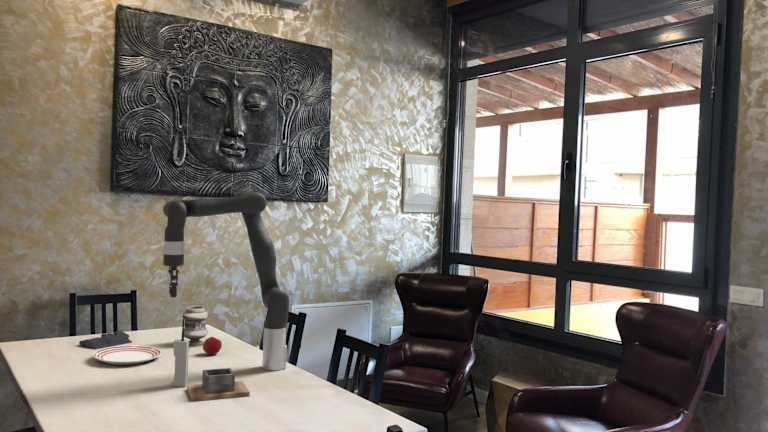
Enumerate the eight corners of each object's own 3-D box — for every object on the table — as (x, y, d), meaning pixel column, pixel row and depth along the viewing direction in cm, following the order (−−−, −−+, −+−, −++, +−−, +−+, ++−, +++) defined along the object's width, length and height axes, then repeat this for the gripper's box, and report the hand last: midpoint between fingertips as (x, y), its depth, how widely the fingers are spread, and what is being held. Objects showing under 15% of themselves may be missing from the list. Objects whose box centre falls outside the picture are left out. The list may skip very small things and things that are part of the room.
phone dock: (242, 384, 229) (242, 365, 229) (249, 396, 216) (250, 375, 216) (186, 389, 221) (187, 369, 221) (191, 401, 208) (192, 379, 208)
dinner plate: (172, 354, 271) (172, 346, 271) (142, 370, 244) (142, 362, 244) (114, 350, 274) (114, 343, 274) (78, 366, 246) (78, 357, 246)
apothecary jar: (176, 345, 286) (177, 307, 286) (191, 340, 298) (192, 304, 297) (198, 348, 283) (199, 309, 282) (212, 342, 294) (213, 306, 294)
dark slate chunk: (73, 346, 279) (74, 335, 279) (116, 338, 298) (116, 328, 298) (94, 351, 272) (94, 340, 272) (136, 342, 291) (136, 332, 291)
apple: (218, 357, 268) (219, 339, 268) (200, 356, 268) (201, 338, 268) (223, 352, 276) (223, 335, 276) (205, 352, 276) (206, 334, 276)
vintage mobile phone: (174, 383, 227) (176, 317, 227) (187, 383, 228) (189, 317, 227) (171, 386, 223) (173, 319, 223) (185, 386, 224) (187, 319, 224)
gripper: (185, 254, 225) (184, 298, 225) (182, 251, 238) (181, 292, 238) (164, 254, 222) (163, 298, 222) (162, 251, 235) (161, 292, 235)
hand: (172, 295), depth 230 cm, fingers open, 8 cm apart
